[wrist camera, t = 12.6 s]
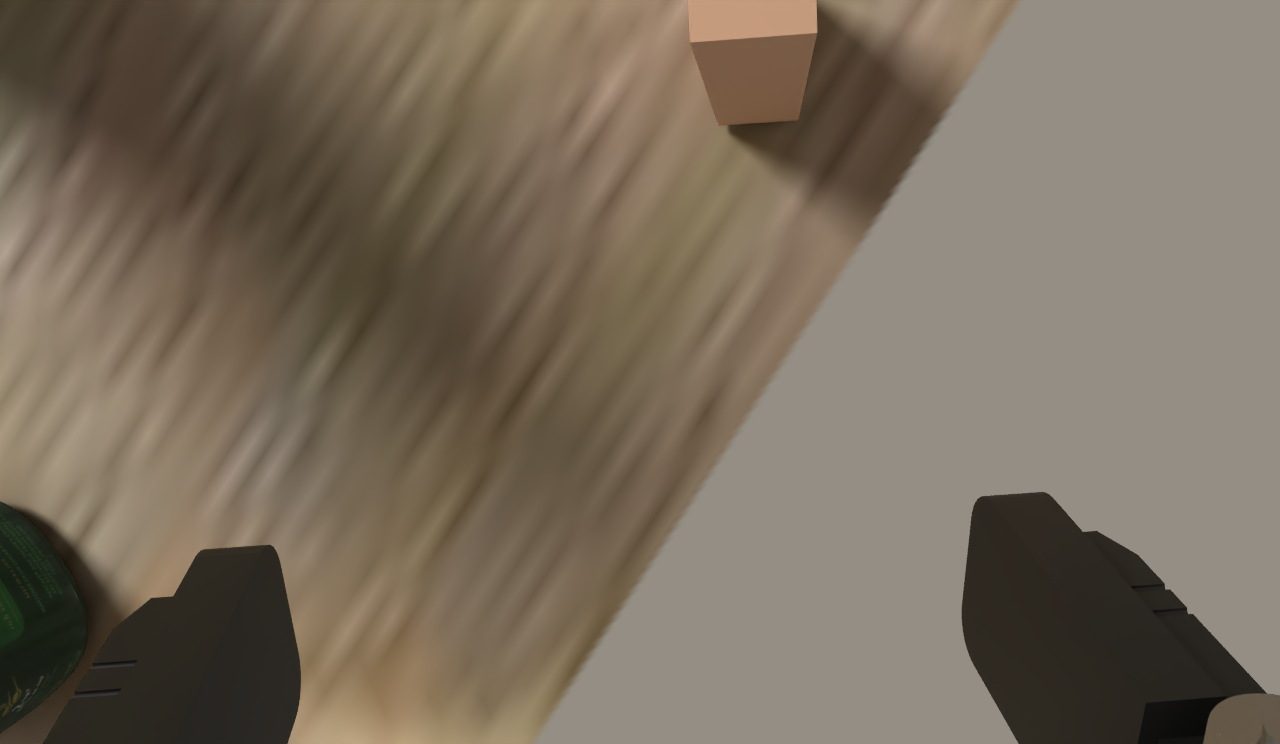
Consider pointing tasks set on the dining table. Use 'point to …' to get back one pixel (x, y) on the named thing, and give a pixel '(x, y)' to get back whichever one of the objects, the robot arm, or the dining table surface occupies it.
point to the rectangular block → (754, 56)
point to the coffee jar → (34, 618)
